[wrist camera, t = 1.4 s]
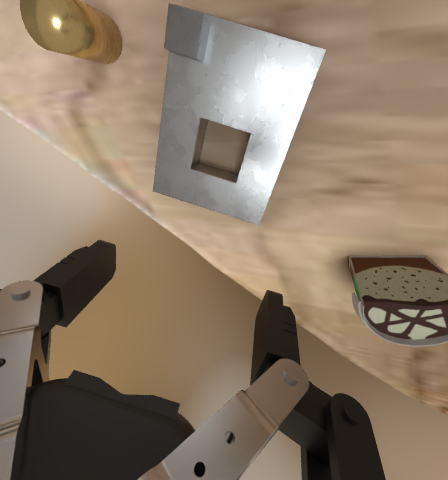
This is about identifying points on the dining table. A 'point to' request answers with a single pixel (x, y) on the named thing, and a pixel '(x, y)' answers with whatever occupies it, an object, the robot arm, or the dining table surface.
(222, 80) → the plate
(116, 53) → the gold peg
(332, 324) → the dining table surface
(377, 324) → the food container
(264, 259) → the dining table surface
